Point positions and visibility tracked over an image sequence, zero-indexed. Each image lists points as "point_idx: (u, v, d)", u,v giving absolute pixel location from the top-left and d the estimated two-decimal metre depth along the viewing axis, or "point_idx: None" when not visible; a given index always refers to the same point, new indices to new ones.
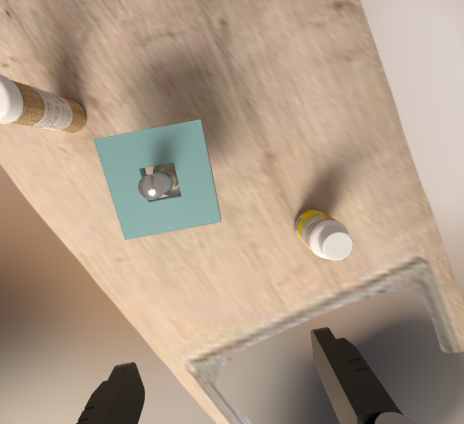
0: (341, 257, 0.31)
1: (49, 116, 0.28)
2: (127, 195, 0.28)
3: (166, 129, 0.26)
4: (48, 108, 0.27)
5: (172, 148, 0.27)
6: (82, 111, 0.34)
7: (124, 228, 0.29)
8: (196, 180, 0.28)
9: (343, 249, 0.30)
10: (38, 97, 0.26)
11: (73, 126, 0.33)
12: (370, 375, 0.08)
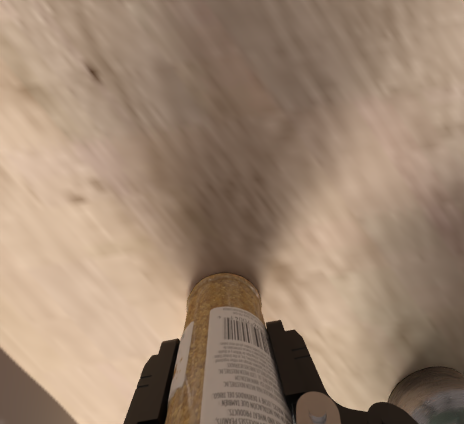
0: None
1: None
2: None
3: None
4: None
5: None
6: (259, 300, 0.14)
7: None
8: None
9: None
10: None
11: None
12: (308, 362, 0.09)
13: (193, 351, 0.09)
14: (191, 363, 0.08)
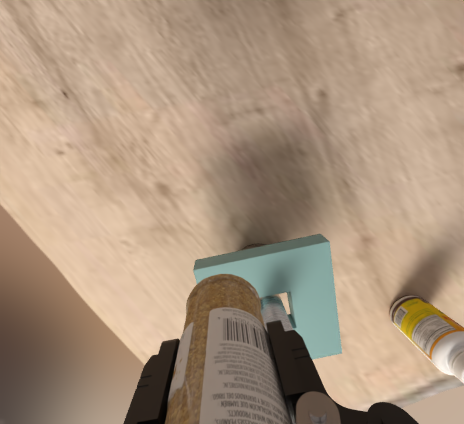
0: None
1: None
2: None
3: (285, 255, 0.21)
4: None
5: (290, 275, 0.21)
6: (259, 301, 0.14)
7: None
8: (317, 309, 0.22)
9: None
10: None
11: None
12: (308, 362, 0.09)
13: (193, 352, 0.09)
14: (191, 364, 0.08)
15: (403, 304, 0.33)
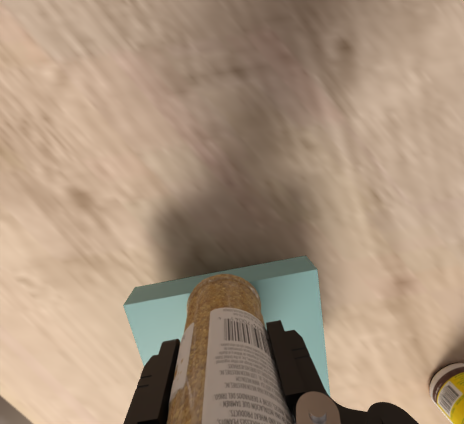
0: None
1: None
2: None
3: (254, 286, 0.14)
4: None
5: (262, 315, 0.15)
6: (259, 301, 0.14)
7: None
8: None
9: None
10: None
11: None
12: (308, 361, 0.09)
13: (194, 352, 0.09)
14: (192, 364, 0.09)
15: (453, 379, 0.22)
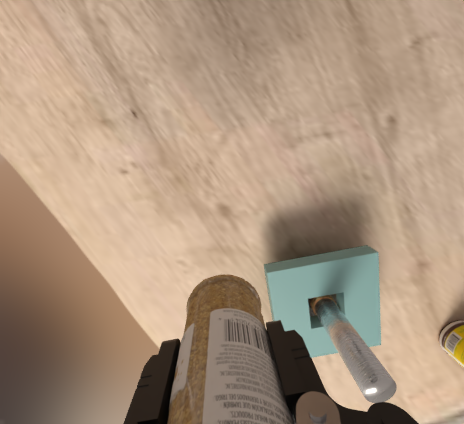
0: None
1: None
2: (291, 323, 0.27)
3: (342, 262, 0.25)
4: None
5: (344, 279, 0.26)
6: (259, 301, 0.14)
7: None
8: (363, 307, 0.27)
9: None
10: None
11: None
12: (308, 361, 0.09)
13: (194, 353, 0.09)
14: (192, 365, 0.09)
15: (455, 329, 0.32)
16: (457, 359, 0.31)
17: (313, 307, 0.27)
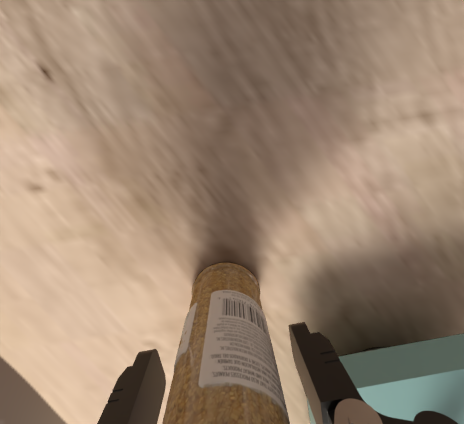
0: None
1: None
2: None
3: None
4: None
5: None
6: (258, 287, 0.15)
7: None
8: None
9: None
10: None
11: None
12: (339, 366, 0.09)
13: (196, 325, 0.10)
14: (194, 334, 0.10)
15: None
16: None
17: None
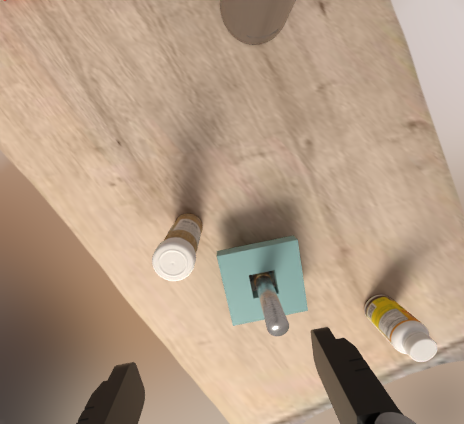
0: (426, 359, 0.34)
1: None
2: (238, 294, 0.36)
3: (271, 247, 0.35)
4: (197, 245, 0.31)
5: (274, 260, 0.35)
6: (201, 223, 0.38)
7: (233, 317, 0.37)
8: (291, 281, 0.36)
9: (428, 353, 0.33)
10: (195, 240, 0.29)
11: None
12: (370, 375, 0.08)
13: (173, 226, 0.33)
14: (172, 227, 0.32)
15: (373, 301, 0.41)
16: (373, 323, 0.40)
17: (254, 282, 0.36)
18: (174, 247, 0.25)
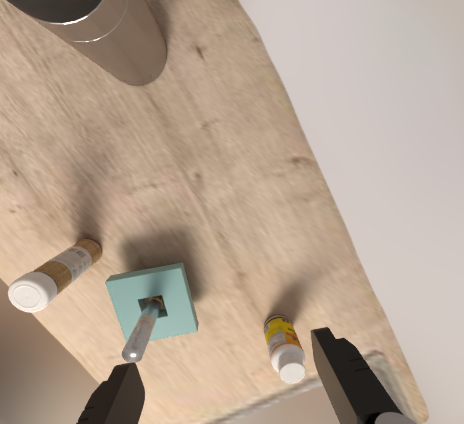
0: (296, 381, 0.36)
1: (74, 278, 0.34)
2: (129, 316, 0.39)
3: (156, 274, 0.37)
4: (74, 274, 0.33)
5: (161, 286, 0.37)
6: (98, 248, 0.40)
7: (126, 337, 0.40)
8: (178, 305, 0.38)
9: (297, 375, 0.36)
10: (67, 271, 0.32)
11: (92, 264, 0.39)
12: (370, 375, 0.08)
13: None
14: None
15: (269, 322, 0.44)
16: None
17: None
18: (25, 283, 0.27)
